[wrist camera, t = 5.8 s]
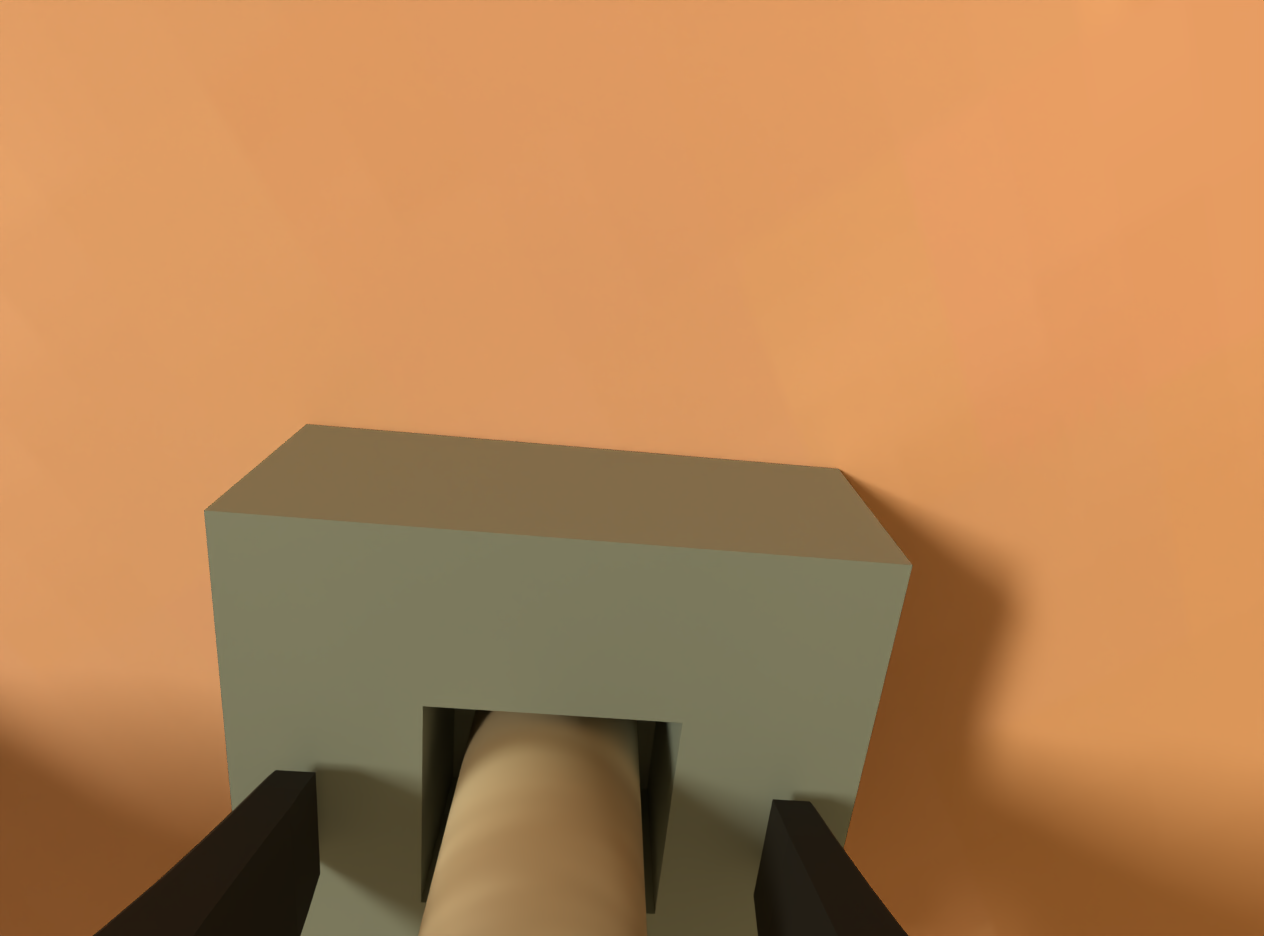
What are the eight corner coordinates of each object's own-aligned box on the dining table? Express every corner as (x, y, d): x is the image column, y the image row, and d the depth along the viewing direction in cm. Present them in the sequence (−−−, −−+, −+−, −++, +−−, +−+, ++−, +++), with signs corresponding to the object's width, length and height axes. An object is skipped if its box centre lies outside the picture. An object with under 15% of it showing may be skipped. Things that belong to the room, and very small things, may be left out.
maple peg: (487, 757, 16) (402, 1150, 10) (478, 627, 15) (376, 967, 9) (635, 754, 16) (651, 1143, 10) (636, 625, 15) (654, 962, 9)
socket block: (324, 843, 18) (251, 1018, 14) (306, 424, 15) (204, 510, 11) (759, 867, 19) (796, 1040, 15) (838, 469, 15) (912, 565, 12)
